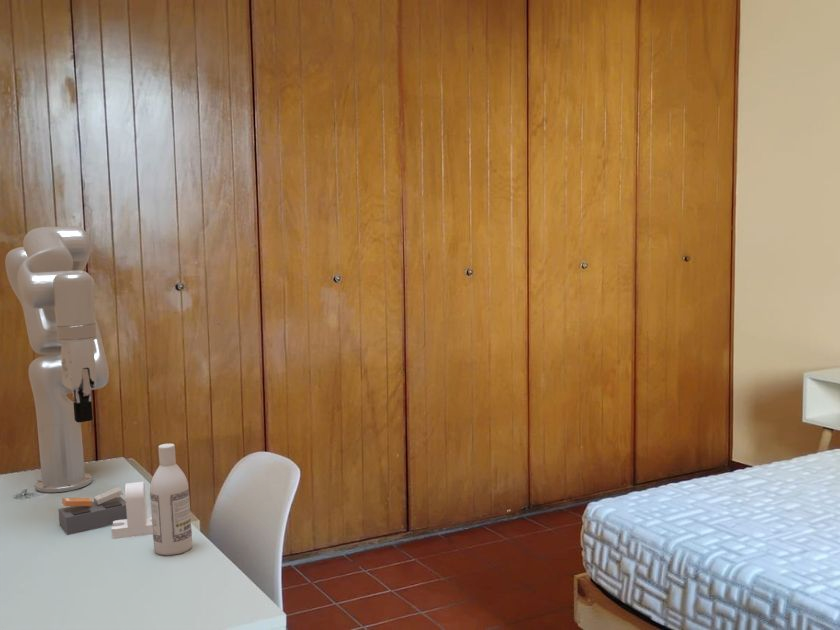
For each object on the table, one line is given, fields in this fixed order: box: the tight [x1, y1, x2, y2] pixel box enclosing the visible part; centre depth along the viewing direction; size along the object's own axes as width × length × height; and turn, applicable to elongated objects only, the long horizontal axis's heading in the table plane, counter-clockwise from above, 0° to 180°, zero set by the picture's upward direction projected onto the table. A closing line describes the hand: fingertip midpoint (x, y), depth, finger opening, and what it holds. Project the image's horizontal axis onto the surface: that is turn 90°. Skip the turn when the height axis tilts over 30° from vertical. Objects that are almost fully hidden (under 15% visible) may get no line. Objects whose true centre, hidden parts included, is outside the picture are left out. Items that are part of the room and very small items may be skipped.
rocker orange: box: [61, 497, 93, 507], centre depth 173 cm, size 3×5×1 cm, turn 125°
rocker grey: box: [93, 486, 124, 505], centre depth 176 cm, size 3×5×1 cm, turn 125°
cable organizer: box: [111, 481, 153, 540], centre depth 168 cm, size 5×10×10 cm, turn 106°
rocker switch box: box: [57, 495, 127, 536], centre depth 175 cm, size 10×12×4 cm
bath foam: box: [149, 443, 193, 556], centre depth 157 cm, size 7×7×20 cm
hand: (83, 420), depth 174 cm, fingers closed
